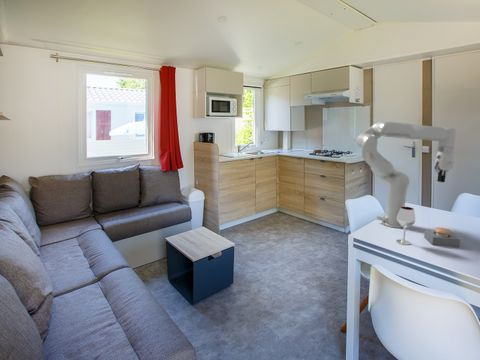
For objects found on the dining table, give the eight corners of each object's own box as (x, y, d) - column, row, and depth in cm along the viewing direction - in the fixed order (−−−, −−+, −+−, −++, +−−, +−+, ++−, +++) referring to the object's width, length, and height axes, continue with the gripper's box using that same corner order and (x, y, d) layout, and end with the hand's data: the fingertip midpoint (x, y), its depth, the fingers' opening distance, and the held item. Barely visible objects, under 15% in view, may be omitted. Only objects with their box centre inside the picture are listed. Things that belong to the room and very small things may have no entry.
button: (436, 241, 148) (438, 231, 147) (431, 236, 154) (432, 227, 153) (452, 242, 146) (453, 232, 145) (445, 237, 153) (447, 228, 152)
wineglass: (390, 239, 154) (394, 206, 150) (405, 239, 154) (409, 205, 151) (400, 245, 146) (404, 210, 142) (416, 245, 146) (420, 210, 143)
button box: (432, 244, 147) (433, 237, 146) (424, 237, 157) (425, 230, 156) (459, 247, 145) (460, 239, 144) (449, 239, 154) (450, 232, 153)
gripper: (443, 150, 160) (439, 184, 163) (460, 149, 166) (455, 182, 169) (430, 149, 167) (425, 181, 170) (447, 148, 172) (442, 179, 176)
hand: (440, 181), depth 170 cm, fingers closed
